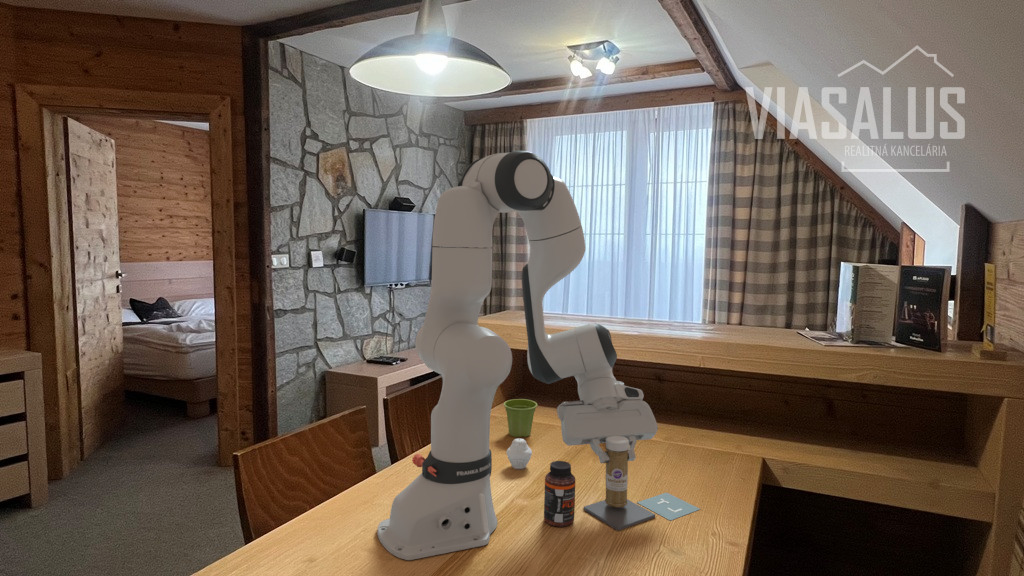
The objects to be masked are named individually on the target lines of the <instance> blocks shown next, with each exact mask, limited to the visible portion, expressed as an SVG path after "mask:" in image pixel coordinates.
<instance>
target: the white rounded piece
mask: <svg viewBox="0 0 1024 576" xmlns="http://www.w3.org/2000/svg"><path fill="white" fill-rule="evenodd" d="M506 455H507V459H508V461H509V463H510V464H511V467H512V468H513V469H515V470H523V469H526V468H527V466H528V464H529V462H530V461H531V458H532V455H533V451H532V449H531V447H530V446H529V445H528V443H527V441H526V439H525V438H520V437H517V438H514V439H513V440H512V442H511V444H510V446H509V447H508V448H507V449H506Z"/></svg>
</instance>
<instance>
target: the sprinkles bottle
mask: <svg viewBox="0 0 1024 576" xmlns="http://www.w3.org/2000/svg"><path fill="white" fill-rule="evenodd" d="M629 446H630V445H629V440H628V439H627V438H626V437H623V436H612V437H607V438H606V443H605V449H606V450H605V451H606V452H608V456H609V458H610V460H609V462H608V463H605V498H604V500H605V502H606V504H608V505H610V506H612V507H624V506H625V505H627V499H628V482H629V481H628V479H629V477H628V475H629V473H628V472H629V471H628V470H629V468H628V467H629V463H628V462H629V461H628V450H629Z"/></svg>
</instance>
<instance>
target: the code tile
mask: <svg viewBox="0 0 1024 576" xmlns="http://www.w3.org/2000/svg"><path fill="white" fill-rule="evenodd" d="M636 504H637V505H639V506H641V507H643V508H644V509H646V510H648V511H650V512H652V513H654V514H655V515H656V514H657V515H658V516H660V517H662V518H664V519H666V520H667V521H674V520H677V519H679V518H682V517H685V516H688V515H690V514H692V513H695V512H698V511H700V510H701V508H699V507H697V506H695V505H694V504H691V503H689V502H686V501H685V500H683V499H680V497H677V496H675V495H673V494H670V493H668V492H663V493H661V494H657V495H655V496H652V497H649V498H645V499H643V500H640V501H637V502H636Z"/></svg>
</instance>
